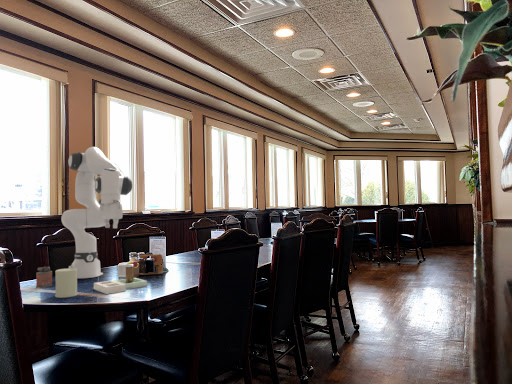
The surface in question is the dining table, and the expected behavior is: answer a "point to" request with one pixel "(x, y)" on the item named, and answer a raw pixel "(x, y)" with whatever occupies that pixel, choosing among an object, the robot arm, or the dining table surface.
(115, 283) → the white shallow tray
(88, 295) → the dining table surface
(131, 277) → the fuse
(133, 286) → the parts tray
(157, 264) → the condiment caddy
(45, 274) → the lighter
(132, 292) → the dining table surface
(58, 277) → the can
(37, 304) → the dining table surface
